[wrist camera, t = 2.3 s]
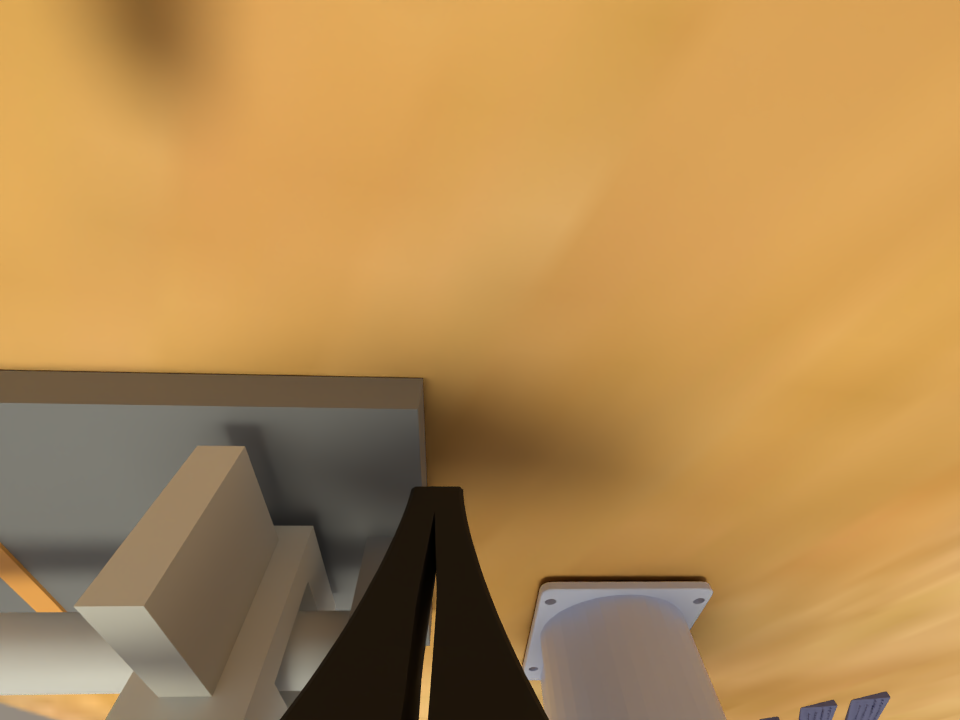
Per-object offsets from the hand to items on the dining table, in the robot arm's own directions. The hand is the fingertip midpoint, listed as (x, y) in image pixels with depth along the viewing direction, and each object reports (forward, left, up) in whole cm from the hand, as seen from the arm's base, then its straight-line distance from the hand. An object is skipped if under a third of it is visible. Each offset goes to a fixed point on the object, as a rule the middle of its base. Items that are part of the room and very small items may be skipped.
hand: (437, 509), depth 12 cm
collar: (-3, +6, -1) cm, 6 cm away
